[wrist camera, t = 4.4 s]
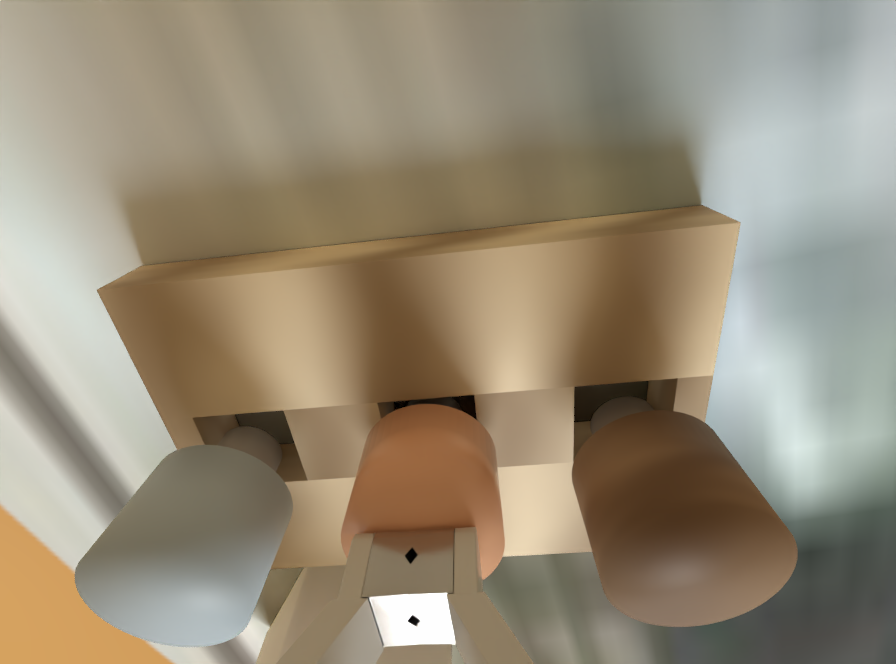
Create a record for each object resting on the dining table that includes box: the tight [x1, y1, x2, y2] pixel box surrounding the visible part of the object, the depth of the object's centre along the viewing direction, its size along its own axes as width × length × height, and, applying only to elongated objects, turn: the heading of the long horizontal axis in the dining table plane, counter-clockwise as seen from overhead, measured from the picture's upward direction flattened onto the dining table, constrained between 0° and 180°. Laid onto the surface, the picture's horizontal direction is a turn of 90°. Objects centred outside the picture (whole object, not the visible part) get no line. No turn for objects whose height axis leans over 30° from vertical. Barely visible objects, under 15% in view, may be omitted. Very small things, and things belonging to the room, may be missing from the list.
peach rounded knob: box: [341, 397, 505, 580], centre depth 13 cm, size 4×4×5 cm
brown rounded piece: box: [572, 396, 797, 627], centre depth 12 cm, size 4×4×5 cm
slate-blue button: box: [75, 426, 293, 647], centre depth 13 cm, size 4×4×5 cm
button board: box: [97, 205, 741, 569], centre depth 15 cm, size 17×12×2 cm
